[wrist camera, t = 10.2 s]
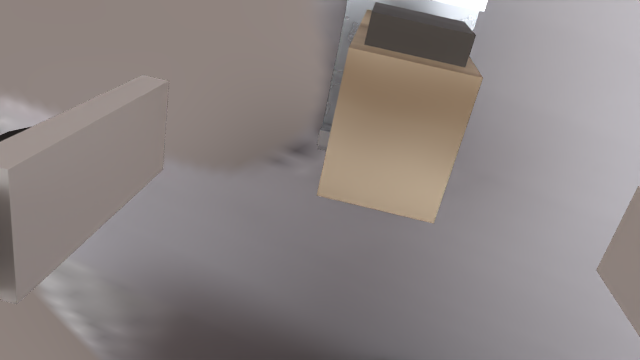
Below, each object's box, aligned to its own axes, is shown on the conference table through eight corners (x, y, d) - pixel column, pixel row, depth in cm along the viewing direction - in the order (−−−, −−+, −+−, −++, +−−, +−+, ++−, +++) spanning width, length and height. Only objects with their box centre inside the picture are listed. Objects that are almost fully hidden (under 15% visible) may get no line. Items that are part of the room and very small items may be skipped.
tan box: (421, 127, 26) (433, 223, 17) (344, 109, 26) (316, 195, 17) (457, 6, 24) (494, 43, 15) (372, -13, 24) (356, 12, 15)
